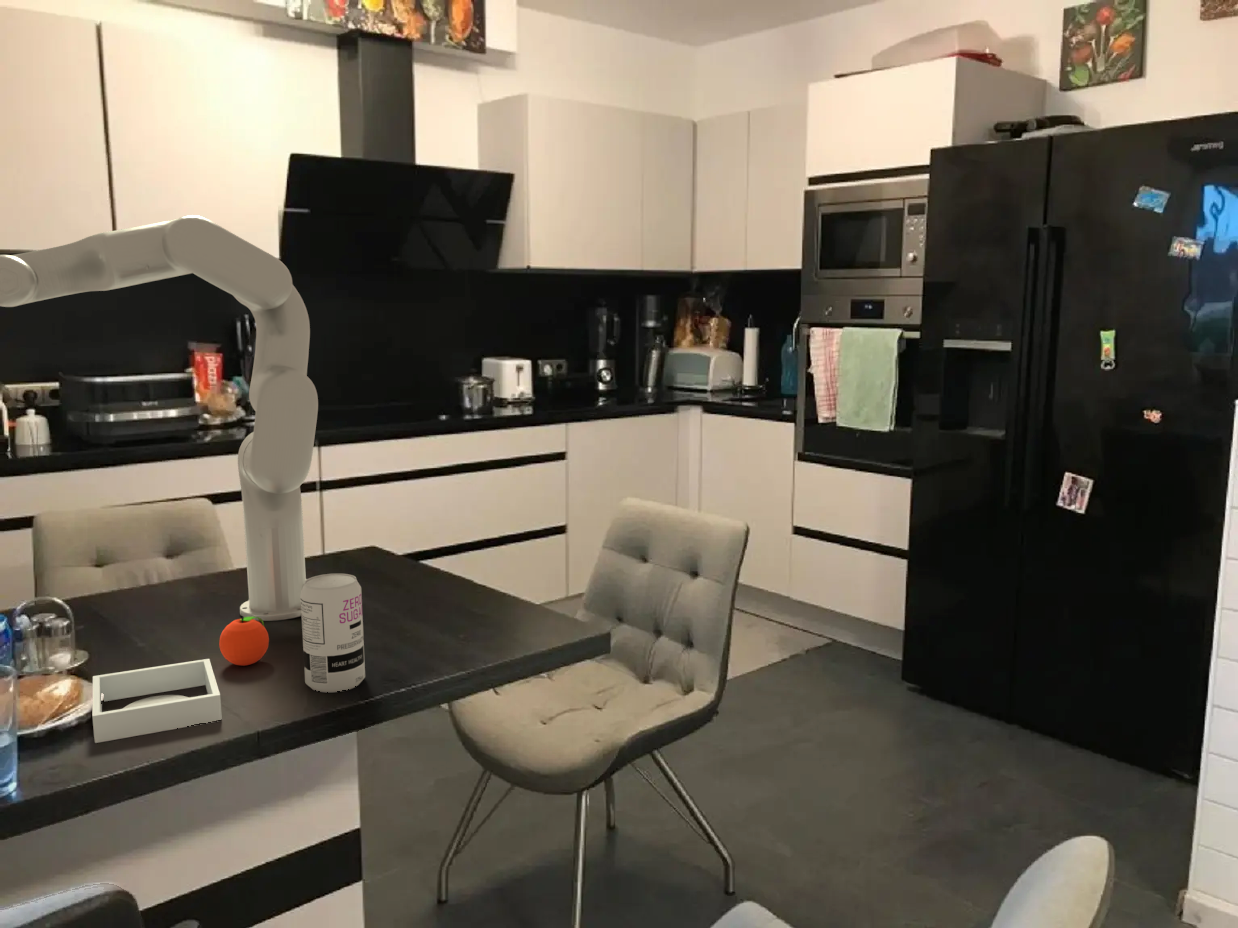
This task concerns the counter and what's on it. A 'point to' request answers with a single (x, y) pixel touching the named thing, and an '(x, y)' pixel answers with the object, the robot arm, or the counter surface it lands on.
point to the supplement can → (332, 632)
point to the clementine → (244, 641)
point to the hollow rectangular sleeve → (154, 700)
